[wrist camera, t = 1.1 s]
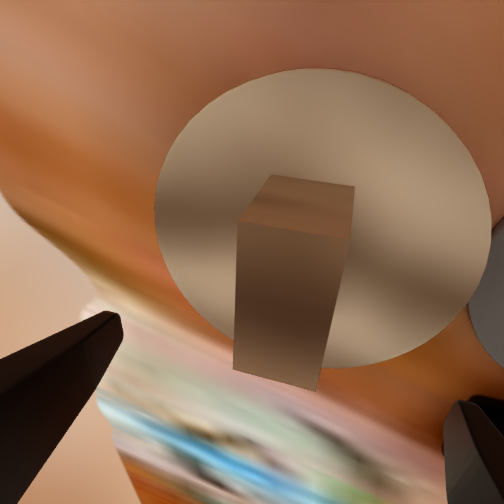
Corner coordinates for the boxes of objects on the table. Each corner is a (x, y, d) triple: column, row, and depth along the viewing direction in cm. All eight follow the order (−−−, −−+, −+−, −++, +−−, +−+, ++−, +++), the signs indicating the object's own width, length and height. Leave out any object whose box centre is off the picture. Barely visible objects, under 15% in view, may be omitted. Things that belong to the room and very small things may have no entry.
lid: (420, 380, 17) (437, 488, 13) (175, 320, 20) (124, 393, 15) (556, 85, 10) (688, 114, 6) (151, 54, 13) (49, 60, 9)
